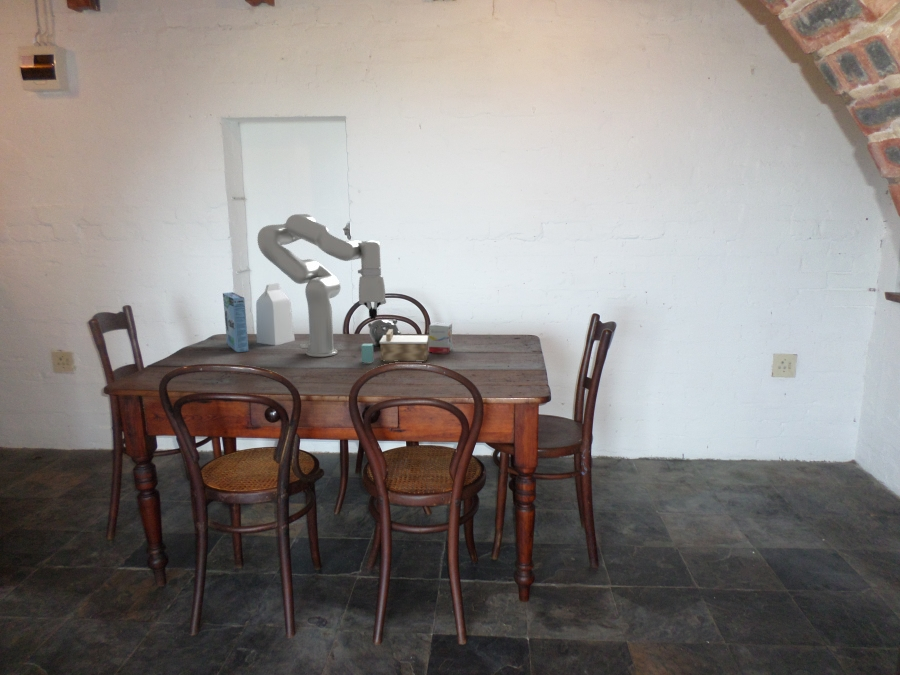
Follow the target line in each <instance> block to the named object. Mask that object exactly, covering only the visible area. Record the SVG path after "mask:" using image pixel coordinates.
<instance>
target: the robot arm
mask: <svg viewBox="0 0 900 675" xmlns="http://www.w3.org/2000/svg"><path fill="white" fill-rule="evenodd" d="M299 240H302V241H305V242H308V243H310V244H312V245H314V246H316V247H318V248H319V249H320V250H321V251H322V252H323V253H325V254H327V255H329V256H331V257H333V258H335V259H337V260H340V261H342V262H343V261H344V262H348V261H354V260H360V263H361V269H358V270H357V274H359V275H360V276H359V280H358V300H359V301H358V304H359V305H363V306H365V307H366V308H367V309H368V317H369V318H370V320H375V319H376V318H377V317H378V308H379V307H380V306H382V305H384V304H387V299H386V288H385V280H384V276H383V275H382V267H381V264H382V263H381V244H380V242H379V241H376V240H366V241H363V240H357V239H355V240H354V239H352V240H343V239H341V238H338V237H336V236H334V235H333V234H331V233H329V229H328V227H327V226H326V225H323V224H321V223H318V222H316V219H315V218H314V217H313V216H312V215H310V214H307V213H305V214H304V213H303V214H302V213H299V214H292V215H290V216H289V217H288V218H287V219H286V221H285V222H284V223H283V224H269V225H266V226H263V227H262V228H261V229H259V232H258V233H257V246H258V249H259V251H260V253H262V254H263V256H264V257H265V258H266V259H267V260H268V261H269V262H270V263H272V264H273V265H274V266H275V267H277V268H278V269H279V270H280V271H281V272H283V274H285V275H286V276H287V277H288V278H289V279H290V280H291V281H293V282H294V283H295V284H299V285H303V284H306V285H305V292H304V293H305V298H306V299H305V300H306V302H307V310H308V312H307V313H308V329H309V330H308V332H309V334H308V335H309V342H307V343H300V344H299V348H300V349H301V350H306V351H305V353H306V356H308V357H312V358H313V357H314V358H317V357H318V358H324V357H332V356H336V354H338V350H337V349H336V348H334V331H333V330H334V328H333V327H334V325H333V310H332V305H331V301H330V299H332V298H335V297H336V296H338V295H339V294H340V292H341V283H340V281H339V279H338V278H337V277H336V276H335V275H334V274H333V273H332V272H330V271H329V270H328V269H327V268H326V267H325V266H323V265H322V264H321V263H320V262H318V261H316V260H314V259H309V258H307V259H301V258H299V257H298V256H296V255H295V253H293V252H292V251H291V250H289V249H288V248H286V247H284V245H291V244H292V243H294V242H297V241H299ZM372 303H374V304H373V305H372Z"/></svg>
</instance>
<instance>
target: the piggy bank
mask: <svg viewBox="0 0 900 675" xmlns="http://www.w3.org/2000/svg"><path fill="white" fill-rule="evenodd" d="M397 323H398V320H397V319H391V320H389V319H385V318H384V319H383V318H381V319H377V320H375V321H373V322H369V323H367V326H368V328H369V336H370V338H371V340H372V341H373V342H374V347H379V346H380V340H381V339H382V337H383V335H386V334H387V332H388V330H389V329H393V335H402V333H401V331H400V330H399V327H398V326H397Z"/></svg>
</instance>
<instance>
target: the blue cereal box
mask: <svg viewBox="0 0 900 675" xmlns="http://www.w3.org/2000/svg"><path fill="white" fill-rule="evenodd" d="M222 298H223V311H224V323H225V334H226V335H225V336H226V337H225V338H226V344H227V345H228V346H229V347H230V348H232V350H234V351H235V352H236V353H243V352H244V353H245V352H249V342H248V341H249V339H248V325H247V315H246V303H245V302H246V299H245V297H243V296H241V295H239V294H237V293H235V292H234V291H233V292H232V291H231V292H223V293H222Z"/></svg>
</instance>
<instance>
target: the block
mask: <svg viewBox="0 0 900 675" xmlns="http://www.w3.org/2000/svg"><path fill="white" fill-rule="evenodd" d="M373 360H374V343H362V344H361V363H362V362H374V361H373Z"/></svg>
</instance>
